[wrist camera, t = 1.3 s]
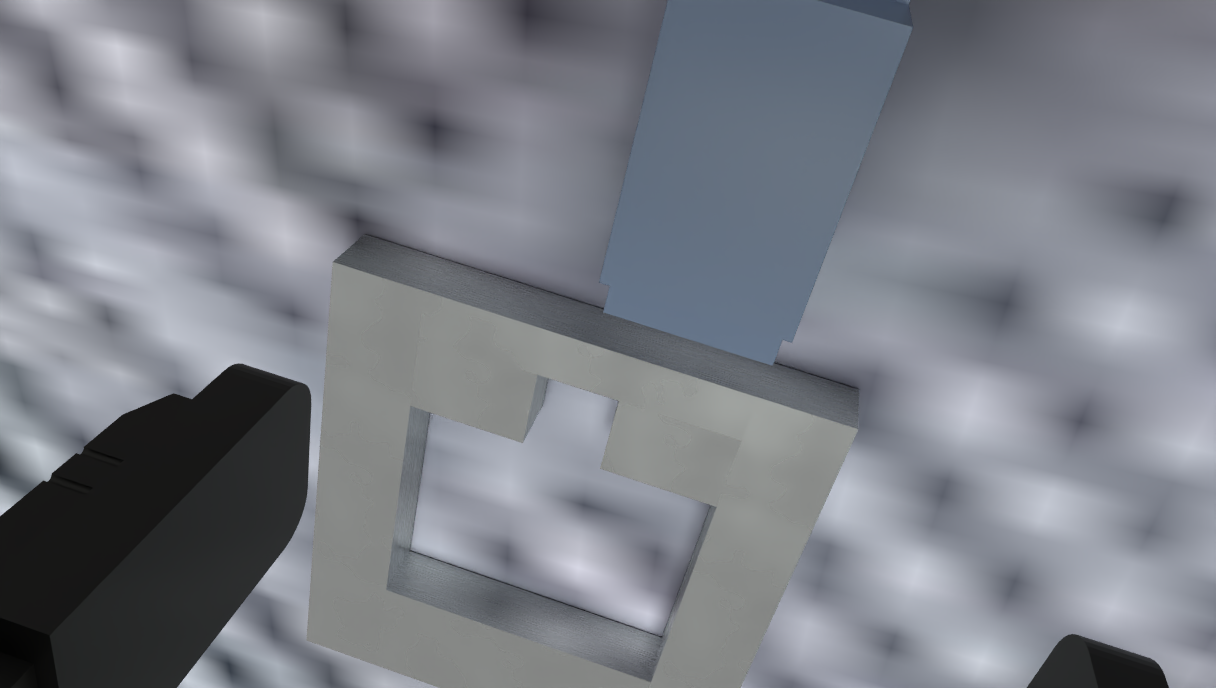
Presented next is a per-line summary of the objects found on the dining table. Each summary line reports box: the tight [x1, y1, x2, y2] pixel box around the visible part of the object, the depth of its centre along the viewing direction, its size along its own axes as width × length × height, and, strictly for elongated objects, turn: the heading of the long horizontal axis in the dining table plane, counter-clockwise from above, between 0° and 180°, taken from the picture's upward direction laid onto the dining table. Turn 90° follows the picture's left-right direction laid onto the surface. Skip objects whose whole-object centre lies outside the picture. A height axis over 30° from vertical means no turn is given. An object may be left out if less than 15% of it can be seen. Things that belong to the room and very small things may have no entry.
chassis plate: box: [307, 234, 859, 688], centre depth 31 cm, size 16×15×2 cm
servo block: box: [599, 0, 913, 366], centre depth 21 cm, size 11×4×5 cm, turn 167°
